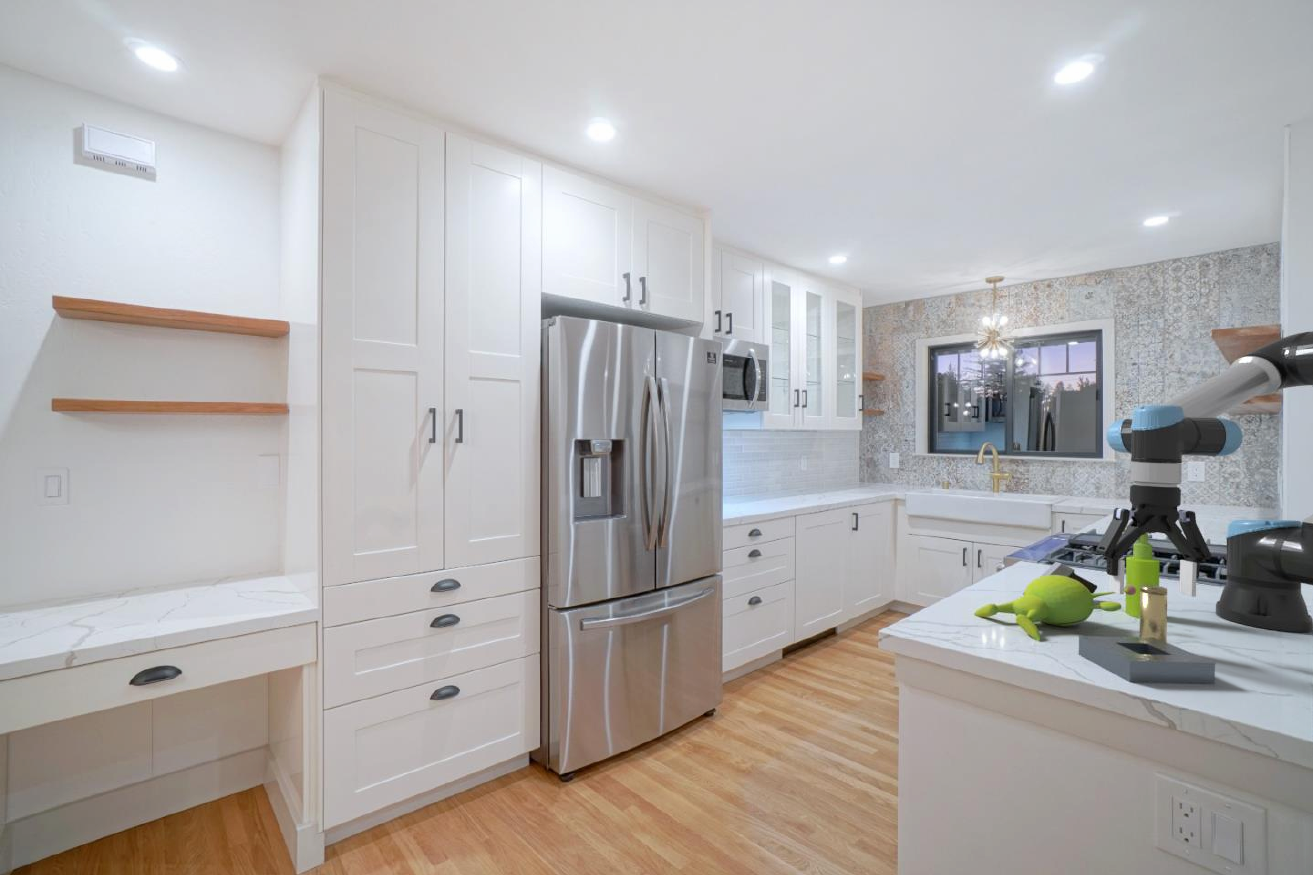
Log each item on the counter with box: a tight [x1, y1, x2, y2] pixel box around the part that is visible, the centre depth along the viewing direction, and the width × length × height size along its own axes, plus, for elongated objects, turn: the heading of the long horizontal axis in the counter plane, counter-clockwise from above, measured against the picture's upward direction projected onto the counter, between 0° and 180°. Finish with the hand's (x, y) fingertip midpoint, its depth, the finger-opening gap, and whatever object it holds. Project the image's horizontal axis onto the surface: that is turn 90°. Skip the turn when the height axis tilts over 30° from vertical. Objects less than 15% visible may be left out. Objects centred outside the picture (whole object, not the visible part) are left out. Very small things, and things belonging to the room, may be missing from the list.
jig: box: [1078, 635, 1216, 685], centre depth 102 cm, size 14×12×4 cm
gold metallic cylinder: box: [1138, 585, 1168, 643], centre depth 112 cm, size 4×4×12 cm
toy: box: [973, 575, 1136, 642], centre depth 127 cm, size 20×10×30 cm
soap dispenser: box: [1123, 528, 1160, 619], centre depth 134 cm, size 6×7×20 cm
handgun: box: [1022, 561, 1098, 596], centre depth 145 cm, size 4×15×12 cm
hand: (1151, 593), depth 112 cm, fingers open, 13 cm apart
